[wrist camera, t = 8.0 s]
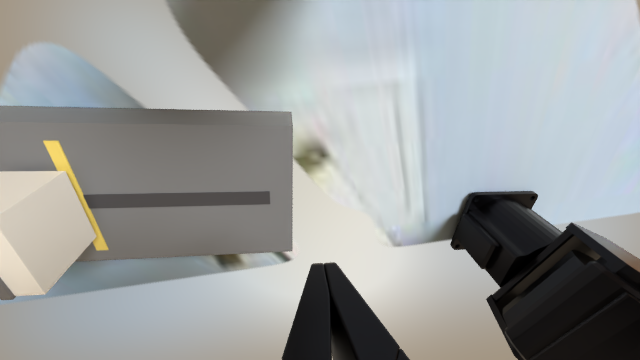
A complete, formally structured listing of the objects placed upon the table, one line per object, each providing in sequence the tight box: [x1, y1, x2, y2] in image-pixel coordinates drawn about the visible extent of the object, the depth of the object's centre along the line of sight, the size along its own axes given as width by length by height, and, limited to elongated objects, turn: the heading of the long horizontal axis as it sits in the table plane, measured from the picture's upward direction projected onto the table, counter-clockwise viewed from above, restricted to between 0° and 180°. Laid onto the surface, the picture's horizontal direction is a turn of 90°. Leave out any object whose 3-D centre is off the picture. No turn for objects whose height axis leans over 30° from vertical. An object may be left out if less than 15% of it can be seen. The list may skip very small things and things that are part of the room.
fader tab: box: [0, 171, 97, 300], centre depth 14 cm, size 3×5×4 cm, turn 177°
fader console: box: [0, 106, 293, 261], centre depth 18 cm, size 18×10×3 cm, turn 87°
